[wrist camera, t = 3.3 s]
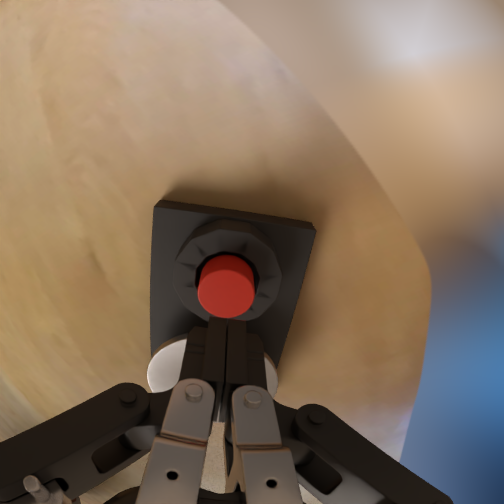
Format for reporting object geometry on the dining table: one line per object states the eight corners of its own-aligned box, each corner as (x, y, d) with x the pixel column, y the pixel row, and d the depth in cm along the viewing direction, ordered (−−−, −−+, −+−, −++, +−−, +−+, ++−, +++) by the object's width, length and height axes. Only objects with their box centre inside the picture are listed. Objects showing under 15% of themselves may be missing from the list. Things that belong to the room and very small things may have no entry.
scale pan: (146, 320, 17) (144, 326, 17) (291, 339, 18) (292, 345, 18) (151, 407, 21) (150, 413, 20) (263, 420, 22) (263, 427, 21)
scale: (159, 199, 18) (145, 215, 15) (311, 222, 19) (323, 241, 16) (155, 379, 24) (148, 407, 21) (263, 393, 25) (266, 421, 22)
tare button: (203, 250, 16) (200, 265, 15) (257, 258, 16) (259, 274, 15) (198, 296, 17) (195, 314, 16) (248, 302, 18) (249, 321, 16)
